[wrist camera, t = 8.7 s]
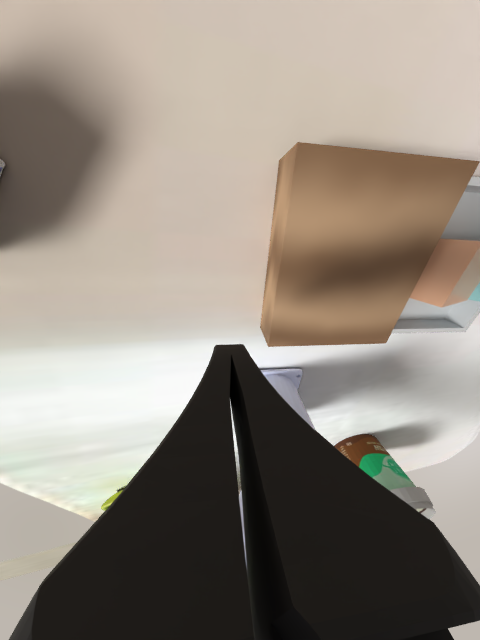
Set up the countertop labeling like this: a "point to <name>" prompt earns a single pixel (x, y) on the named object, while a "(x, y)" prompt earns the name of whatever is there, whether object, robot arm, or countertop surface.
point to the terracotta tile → (449, 273)
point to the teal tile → (475, 294)
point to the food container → (385, 470)
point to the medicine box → (1, 166)
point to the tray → (419, 317)
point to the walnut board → (352, 240)
